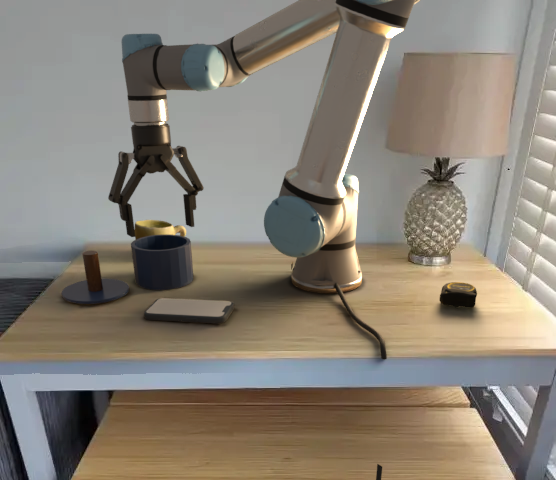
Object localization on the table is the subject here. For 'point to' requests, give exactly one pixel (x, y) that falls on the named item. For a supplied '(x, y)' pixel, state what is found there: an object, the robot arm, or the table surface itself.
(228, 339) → the table surface
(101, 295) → the lid
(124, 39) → the robot arm
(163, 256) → the tin
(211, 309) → the phone case
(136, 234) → the mug
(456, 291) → the tape measure
